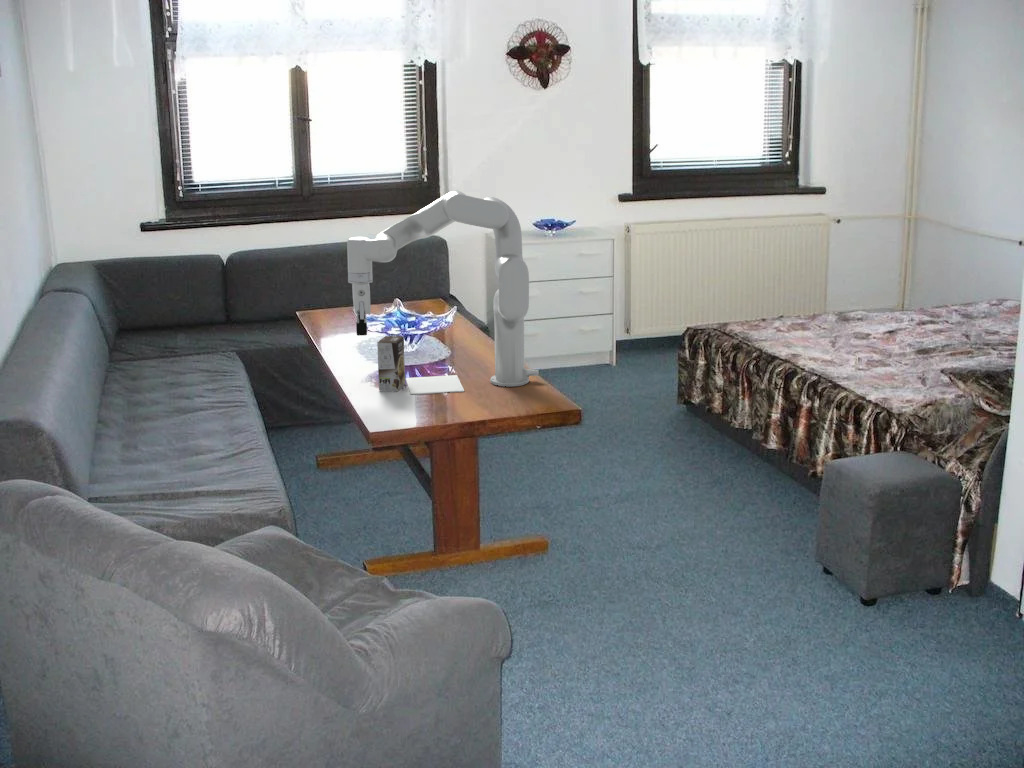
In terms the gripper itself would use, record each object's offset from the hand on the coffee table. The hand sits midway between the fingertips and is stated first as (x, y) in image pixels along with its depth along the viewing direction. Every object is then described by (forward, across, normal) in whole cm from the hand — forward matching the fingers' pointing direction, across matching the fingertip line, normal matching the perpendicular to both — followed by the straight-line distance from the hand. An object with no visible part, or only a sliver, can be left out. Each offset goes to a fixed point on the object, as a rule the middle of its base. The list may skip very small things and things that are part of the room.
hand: (361, 334), depth 349 cm
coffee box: (+18, 0, -9) cm, 20 cm away
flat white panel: (+18, 0, -23) cm, 29 cm away
